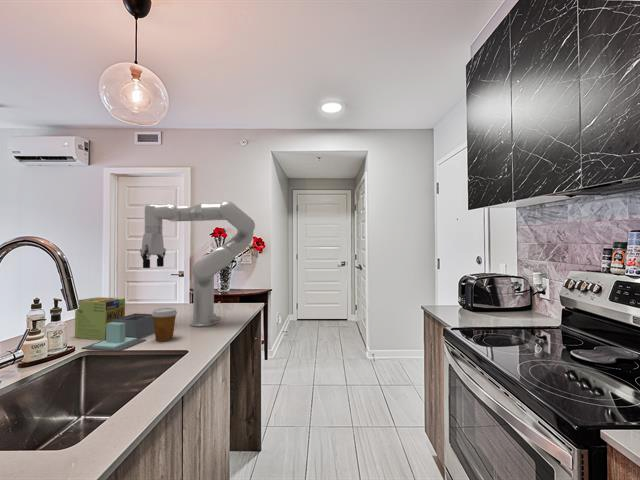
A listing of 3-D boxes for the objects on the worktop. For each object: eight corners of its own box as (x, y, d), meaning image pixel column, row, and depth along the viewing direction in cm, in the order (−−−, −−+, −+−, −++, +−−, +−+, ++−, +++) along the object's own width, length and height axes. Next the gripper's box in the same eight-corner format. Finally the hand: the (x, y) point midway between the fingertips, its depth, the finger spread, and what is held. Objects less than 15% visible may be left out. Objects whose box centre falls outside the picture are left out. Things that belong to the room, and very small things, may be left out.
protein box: (105, 340, 134) (105, 302, 134) (74, 338, 137) (74, 300, 137) (125, 333, 144) (125, 297, 144) (95, 331, 147) (96, 296, 147)
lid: (137, 339, 132) (137, 320, 133) (114, 348, 121) (114, 327, 121) (116, 338, 134) (116, 319, 134) (92, 347, 123) (92, 326, 123)
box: (156, 331, 146) (157, 314, 146) (135, 340, 133) (135, 321, 133) (135, 330, 148) (135, 313, 148) (111, 338, 135) (112, 319, 135)
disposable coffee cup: (182, 337, 137) (182, 308, 137) (162, 343, 129) (162, 313, 129) (165, 335, 141) (166, 307, 141) (145, 340, 133) (146, 311, 133)
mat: (146, 340, 133) (146, 339, 133) (119, 351, 119) (119, 350, 119) (111, 338, 136) (111, 337, 136) (81, 348, 122) (81, 347, 122)
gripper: (158, 231, 164) (158, 266, 164) (133, 230, 147) (133, 268, 147) (172, 231, 163) (171, 266, 163) (148, 230, 146) (148, 268, 146)
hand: (153, 267), depth 155 cm, fingers open, 9 cm apart
